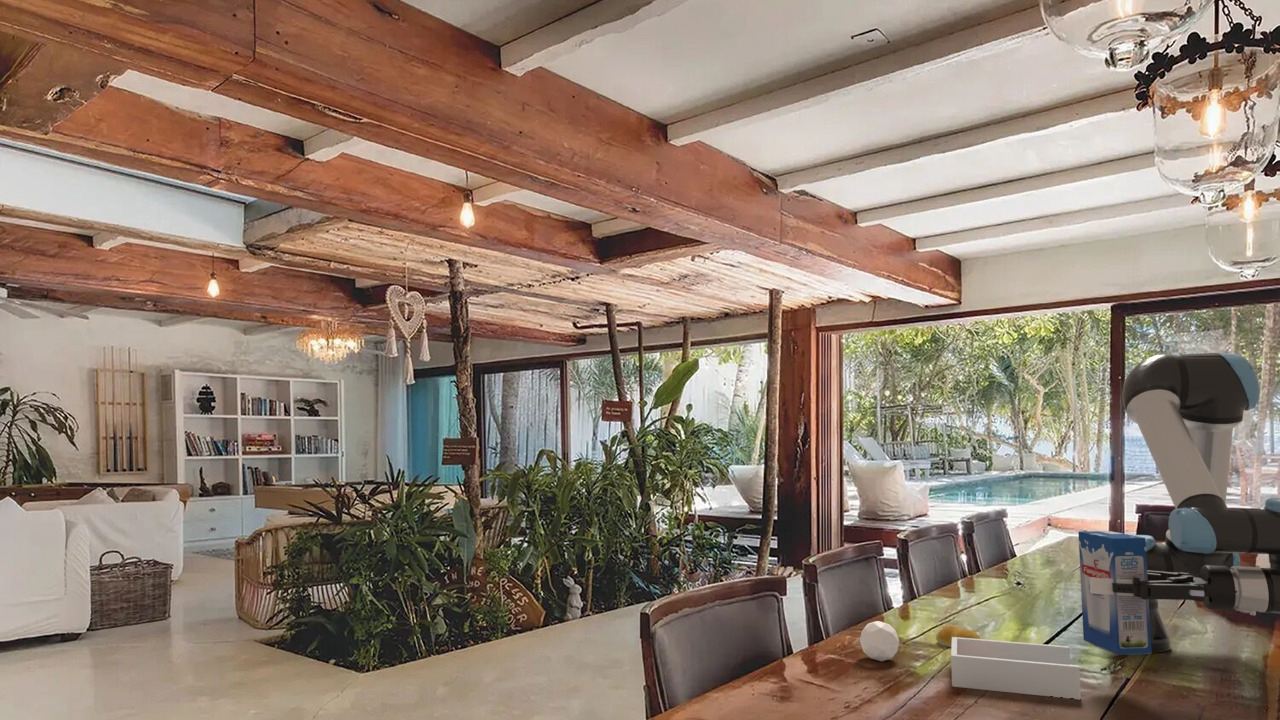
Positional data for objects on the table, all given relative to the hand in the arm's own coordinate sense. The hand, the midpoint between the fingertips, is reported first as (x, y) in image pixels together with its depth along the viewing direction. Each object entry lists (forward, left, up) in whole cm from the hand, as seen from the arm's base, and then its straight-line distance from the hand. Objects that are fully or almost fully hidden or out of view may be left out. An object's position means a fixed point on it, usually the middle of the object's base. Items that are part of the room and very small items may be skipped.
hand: (1086, 580), depth 151 cm
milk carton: (-4, 0, -12) cm, 12 cm away
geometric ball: (+38, -7, -20) cm, 43 cm away
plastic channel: (+13, 0, -19) cm, 23 cm away
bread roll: (+23, -25, -20) cm, 39 cm away
